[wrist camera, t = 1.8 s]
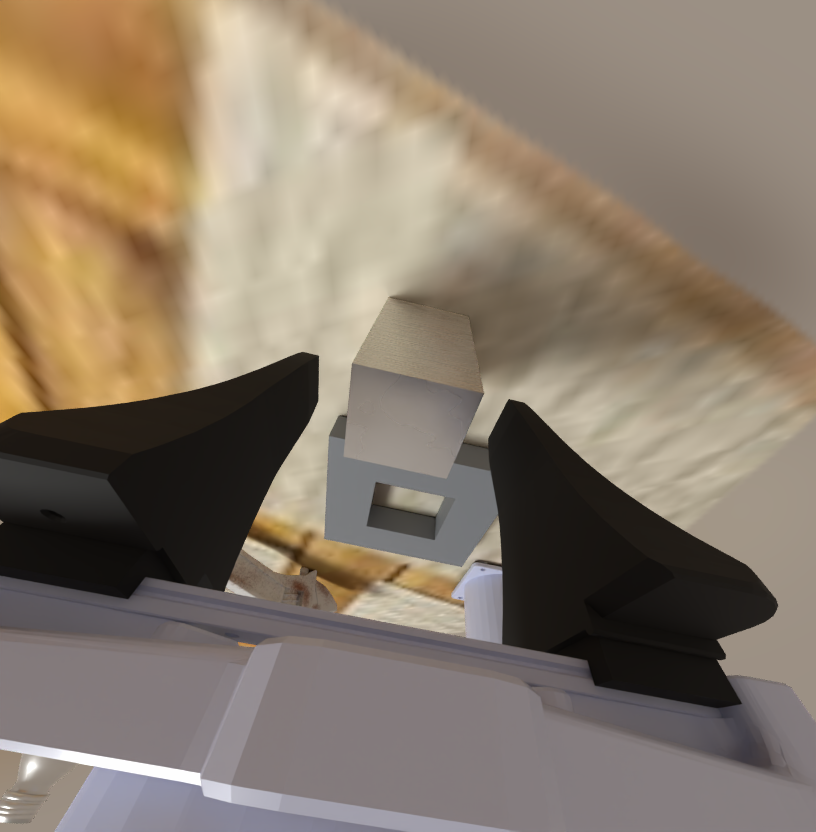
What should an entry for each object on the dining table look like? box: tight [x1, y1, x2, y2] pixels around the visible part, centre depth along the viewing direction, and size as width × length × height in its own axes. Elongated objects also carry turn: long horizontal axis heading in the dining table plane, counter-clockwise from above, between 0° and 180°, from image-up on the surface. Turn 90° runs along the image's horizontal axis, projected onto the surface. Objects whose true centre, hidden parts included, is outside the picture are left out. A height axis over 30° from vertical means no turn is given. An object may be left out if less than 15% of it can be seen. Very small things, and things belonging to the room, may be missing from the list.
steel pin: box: [343, 297, 484, 479], centre depth 13 cm, size 4×4×7 cm
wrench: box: [226, 549, 337, 612], centre depth 27 cm, size 8×2×30 cm
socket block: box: [324, 416, 498, 567], centre depth 22 cm, size 12×12×2 cm
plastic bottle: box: [0, 753, 79, 823], centre depth 38 cm, size 6×7×20 cm
